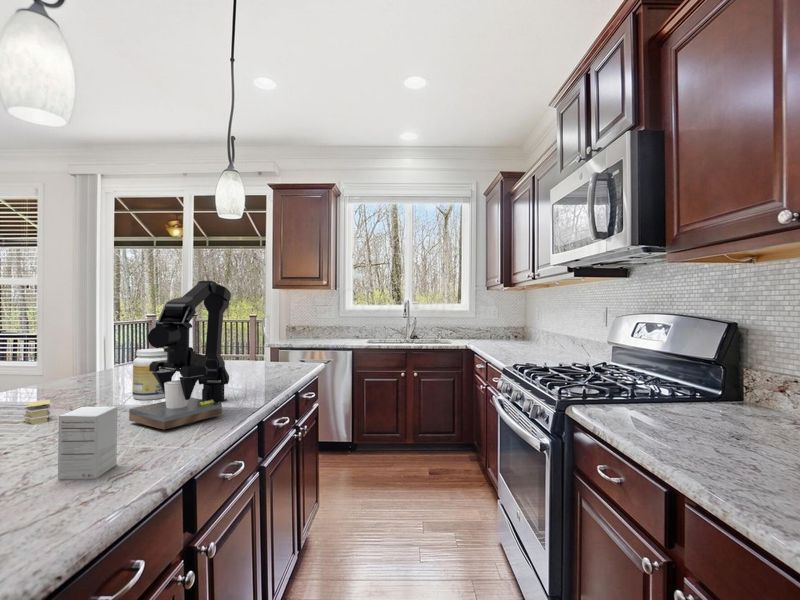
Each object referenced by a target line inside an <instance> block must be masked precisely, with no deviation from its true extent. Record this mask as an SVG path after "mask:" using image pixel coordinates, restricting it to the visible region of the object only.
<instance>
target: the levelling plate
mask: <svg viewBox="0 0 800 600" xmlns="http://www.w3.org/2000/svg"><path fill="white" fill-rule="evenodd" d="M222 406H223V404H222V402H218V403H216V402H214V401H213V400H208V401H206V400H202V398H201V399H200V398H195V397H192V396H191V397H190V399H189V400H188V406H186V407H183V408H174V409H172V408H167V407H166V400H164V401H160V402H155V403H152V404H151V403H150V404H145V405H141V406H137V407H132V408H129V409H128V411H129V412H128V413H131V414H135V415H139V416H143V417H147V418H150V419H154V420H158V421H162V422H166V421H170V420H174V419H178V418H182V417H186V416H190V415H194V414H198V413H202V412H206V411H210V410H214V409H218V408H222V409H223V407H222Z"/></svg>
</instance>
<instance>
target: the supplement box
mask: <svg viewBox="0 0 800 600" xmlns="http://www.w3.org/2000/svg"><path fill="white" fill-rule="evenodd" d="M117 439H118V406H81V407H78V408H76V409H73V410H71V411H68V412H66V413H63V414H61V415H58V441H57V442H58V443H57V444H58V445H57V448H58V449H57V450H58V451H57V455H58V457H57V460H58V461H57V479H58V480H95V479H98V478H99V477H100V476H102V475H104V474H105V473H106V472H108V471H110V470H111V469H112V468H114V467H115V466H117V464H118V463H117V459H118V458H117V457H118V455H117V453H118V449H117V447H118V440H117Z"/></svg>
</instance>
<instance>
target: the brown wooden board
mask: <svg viewBox="0 0 800 600" xmlns="http://www.w3.org/2000/svg"><path fill="white" fill-rule="evenodd" d="M222 409H223V407H222V408H218V409H214V410H210V411H206V412H202V413H198V414H194V415H190V416H186V417H182V418H178V419H174V420H170V421H166V422H162V421H158V420H154V419H150V418H147V417H143V416H139V415H135V414H131V413H129V412H128V413H129V415H128V417H129V418H128V421H130V422H134V423H137V424H138V425H139V426H149V427H153V428H156V429H161V430H168V429H170V428H171V429H172V428H175V427H179V426H189V425H194V424H195V423H196V422H197V421H201V420H206V419H209V418H213V417H216V416H220V415H222V412H223V410H222Z"/></svg>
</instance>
